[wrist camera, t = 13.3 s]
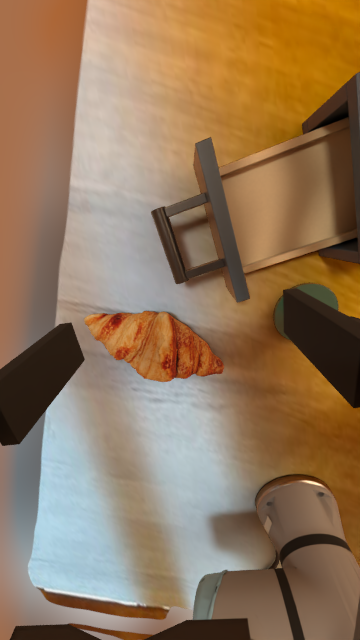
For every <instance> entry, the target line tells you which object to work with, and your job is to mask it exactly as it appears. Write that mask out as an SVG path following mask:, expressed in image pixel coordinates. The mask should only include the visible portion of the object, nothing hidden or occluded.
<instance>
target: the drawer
mask: <svg viewBox="0 0 360 640" xmlns="http://www.w3.org/2000/svg"><path fill="white" fill-rule="evenodd" d="M193 166H194V170H195V174H196V177H197V181H198V185H199V188H200V192H201V194H200V195H197V196H195V197H192V198H189V199H187V200H184V201H182V202H179V203H176V204H174V205H171V206H168V207H160V208H157V209H155V210H153V211H151V213H152V216H153V219H154V222H155V225H156V228H157V231H158V234H159V236H160V239H161V242H162V245H163V248H164V251H165V254H166V257H167V259H168V262H169V265H170V268H171V271H172V274H173V277H174V280H175V283H176V284H180V283H183V282H186V281H188V280H189V278H192V277H195V276H198V275H201V274H204V273H207V272H210V271H213V270H217V269H220V268H221V269H222V272H223V276H224V280H225V283H226V287H227V288H228V290H229V291H230V293H231V294H232V296H233V297H234V299H235V300H236V302H241V301H244V300H247V299H250V296H249V292H248V288H247V284H246V280H245V276H244V274H245V273H248V272H251V271H254V270H257V269H260V268H263V267H266V266H270V265H273V264H276V263H279V262H282V261H285V260H288V259H291V258H294V257H298V256H301V255H304V254H307V253H310V252H313V251H316V250H319V249H322V248H326V247H329V246H332V245H335V244H338V243H341V242H344V241H347V240H350V239H354V238H357V223H356V209H355V195H354V180H353V166H352V152H351V138H350V124H349V117H347V118H344V119H342V120H339V121H337V122H334V123H332V124H329V125H327V126H324V127H321V128H319V129H316V130H314V131H311V132H309V133H306V134H304V135H301V136H298V137H296V138H293V139H291V140H288V141H286V142H283V143H281V144H278V145H276V146H273V147H270V148H268V149H265V150H263V151H260V152H258V153H255V154H253V155H250V156H247V157H245V158H242V159H240V160H237V161H235V162H232V163H230V164H227V165H225V166H222V167H219V168H218V164H217V160H216V156H215V151H214V147H213V143H212V139H211V137H210V138H207V139H205V140H203V141H200V142H198V143H196V144H195V153H194V164H193ZM203 204H204V207H205V210H206V214H207V218H208V221H209V225H210V229H211V232H212V236H213V239H214V243H215V247H216V250H217V254H218V258H219V259H218V260H215V261H212V262H209V263H206V264H203V265H200V266H197V267H194V268H191V269H188V270H186V268H185V265H184V262H183V259H182V256H181V253H180V250H179V247H178V244H177V241H176V238H175V235H174V231H173V228H172V225H171V222H170V219H169V217H171V216H173V215H176V214H179V213H181V212H184V211H187V210H189V209H192V208H195V207H197V206H200V205H203Z"/></svg>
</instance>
